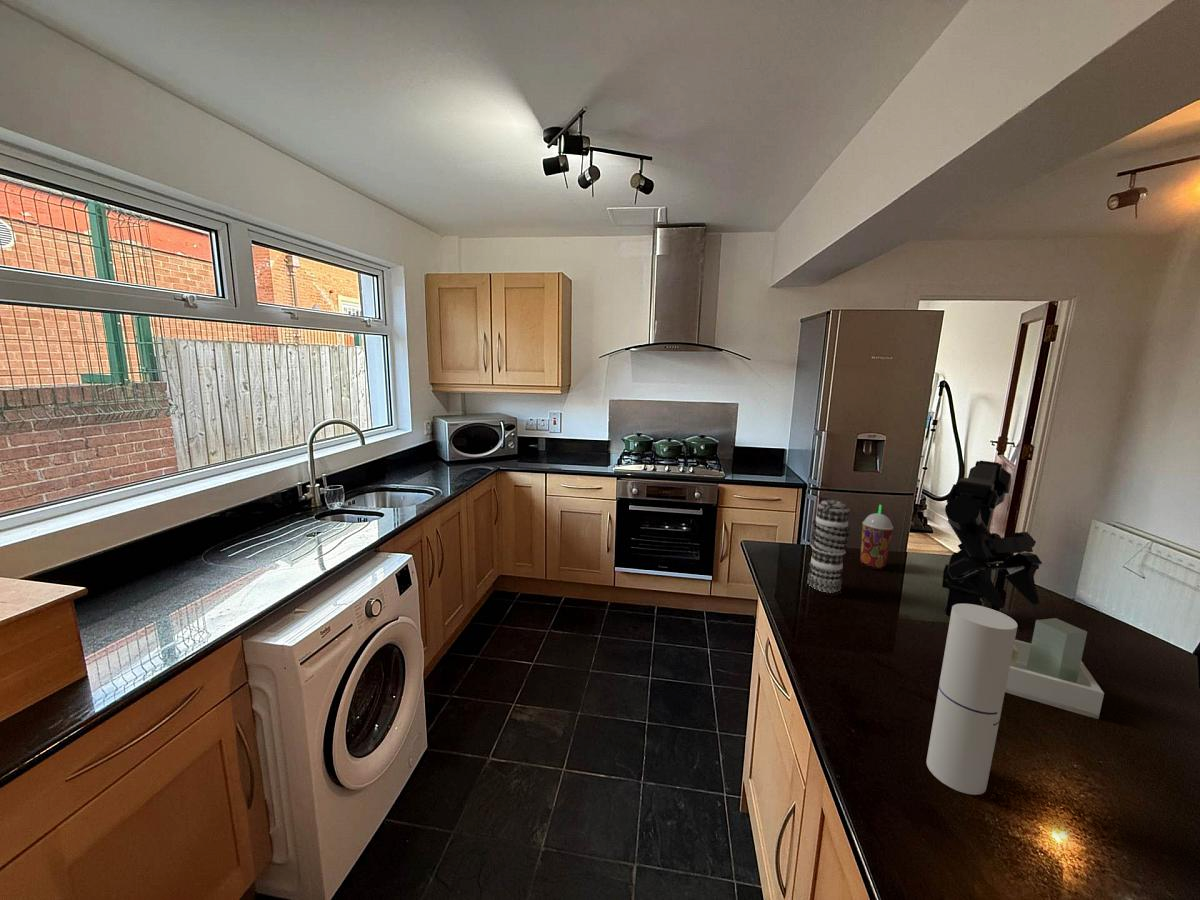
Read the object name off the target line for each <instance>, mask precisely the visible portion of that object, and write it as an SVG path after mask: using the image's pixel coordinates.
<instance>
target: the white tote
mask: <svg viewBox="0 0 1200 900" xmlns="http://www.w3.org/2000/svg"><path fill="white" fill-rule="evenodd" d="M1031 643H1032V642H1027V641H1022V640H1019V639H1015V642H1014V644H1015V646H1016V648H1017V650H1018V655H1017V660H1016V666H1015V667H1013V666H1010V668H1009V673H1008V679H1007V684H1006V689H1005V693H1006V694H1010V695H1014V696H1016V697H1020V698H1024V699H1027V700H1030V701H1033V702H1034V701H1035V702H1037V703H1040V704H1043V705H1044V704H1045V705H1048V706H1052V707H1055V708H1058V709H1061V710H1065V711H1068V712H1072V713H1074V714H1079V715H1081V716H1082V715H1083V716H1086V717H1089V718H1093V719H1097V720H1099V719H1100V713H1101V710H1102V705H1103V701H1104V695H1105V692H1104V691H1103V690H1102V689H1101V687H1100V685H1099V684H1098V683H1097V681H1096V679H1094V676H1093V675H1092V674H1091V672H1090V671H1089V670H1088V668H1087V667H1086V666H1085V664H1084V662H1083V661H1082V660H1081V664H1080V668H1079V673H1078V678H1077V682H1076V683H1073V682H1069V681H1065V680H1062V679H1058V678H1054V677H1050V676H1047V675H1043V674H1039V673H1035V672H1032V671H1028V670H1026V669H1027V663H1028V658H1029V653H1030V648H1031Z"/></svg>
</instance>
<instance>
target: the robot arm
mask: <svg viewBox="0 0 1200 900" xmlns="http://www.w3.org/2000/svg"><path fill="white" fill-rule="evenodd" d="M1011 485H1012V474H1011V473H1010V471H1007V470H1006V469H1005V468H1003V463H1000V462H997V461H987V460H976V462H975V466H973V467H971V468H970V469H969V473H968V475H967V477H962V478H960V479H959V480H957V482H956V483H954V484H952V487H951V489H950V491H949V493H948V495H947V498H946V503H947V504H946V505H945V508H944V512H945V515H946V517H947V523H948V524H949V525H950V527H951V529H952V530H953V532H954V533H955V535H956V536H957V538H958V540H959V541H960V543H959V544H958V545H957V547H958V549H959V551H958V552H955V551H954V552H953V553H952V554H951V556H950V559H949V562H948V564H947V563H946V564H945V566H944V568H943V569H944V570H943V575H942V586H941V587H942V588H943V589H947V591H946V596H945V602H944V603H943V609H944V614H945V615H947V616H950V617H951V611H952V606H953V605H955V604H973V605H979V606H983V601H982V600H984V599H985V600H987V601H988V602H990V604H991V605H994V607H996V608H998V610H999V609H1003V608H1005V604H1004V602H1003V600H1002V598H1001V595H1000V594H999V592H998V591H997V588H996V586H995V584H994V583H993V581H992V572H993V571H997V570H998V571H999V570H1001V572H1002V573H1004V574H1005V575H1006V576H1004V578H1005V579H1006V580H1007V581H1008V582H1009V583H1010V584H1011V585H1012V586H1013V587H1014V588H1015V589H1016V590H1017V591H1018V592H1019V593H1020V594H1021V595H1022V596H1023V597H1024V598H1025V599H1026V600H1027V601H1028V602H1030V603H1031V604H1032V606H1033V605H1034V606H1036V605H1040V602H1041V601H1040V599H1039V595H1038V592H1037V588H1036V583H1035V574H1036V571H1037V570H1039V569H1040V565H1042V564H1043V562H1042V561H1041V559H1040V558H1039V556H1038V555H1037V554H1034V553H1033V552H1034V550H1033V548H1034V547H1035V546H1036V543H1037V541H1036V540H1035V539H1034V538H1033V537H1032V536H1031V535H1030V533H1028V531H1021V532H1014V533H1013V534H1012V535H1013V536H1011V537H1001V536H1000V534H998V532H992V533H991V531H990V529H989V528H990V523H991V520H992V517H993V512H994V510H995V509H996V507H998V506H999V505H1000V504H1002V503H1003V502H1004V501H1005V498H1006V494H1009V493H1010V489H1011Z"/></svg>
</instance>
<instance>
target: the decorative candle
mask: <svg viewBox="0 0 1200 900" xmlns="http://www.w3.org/2000/svg"><path fill="white" fill-rule="evenodd" d="M816 507H817V512H816V513H817V514H816V516H815V519H814V520H813V521H812V525H813V527H812V530H811V531H812V534H811V538H812V540H811V549H812V555H811V557H810V558H811V559H810V562H809V563H808V564H809V568H808V572H809V573H808V574H807V580H806V582H807V584H809V586H811V587H812V588H814V589H816V590H819V591H821V592H826V593H828V592H829V593H834V592H838V591H840V592H841V589H842V584H843V581H842V578H843V576H844V575H843V572H844V567H843V566H844V563H843V561H844V560H843V559H844V555H845V554H846V552H847V551H846V549H847V548H848V547H847V546H846V545H847V544H848V540H847V539H846V538H848V537H849V536H850V534H849V533H848V532H850V530H851V529H850V527H849V519H848V518H849V513H850V511H851V509H850V508H849V507H848V506H847V504H846V503H844V501H840V500H835V499H823V500H822V501H820V502H819V503H817V504H816Z"/></svg>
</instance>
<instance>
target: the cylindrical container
mask: <svg viewBox="0 0 1200 900" xmlns="http://www.w3.org/2000/svg"><path fill="white" fill-rule="evenodd" d="M948 623H949V624H948V631H947V635H946V642H945V648H944V655H943V659H942V664H941V665H942V666H941V672H940V677H939V684H938V690H937V694H936V701H935V702H936V703H935V708H934V713H933V720H932V726H931V732H930V738H929V744H928V750H927V755H926V766H927V768H928V770H929V772H930V773H931V774H932V775H933V776H934V777H935V778H936V779H937V780H938V781H940V782H941V783H942V784H944V785H945V786H948V787H949V788H951V789H952V790H955V791H957V792H960V793H963V794H967V795H971V796H972V795H973V796H977V795H982V794H984V793H985V792H986V791H987V786H988V782H989V776H990V772H991V767H992V761H993V755H994V751H995V746H996V741H997V737H998V736H997V735H998V731H999V725H1000V720H1001V716H1002V715H1001V714H1002V710H1003V704H1004V698H1005V693H1006V692H1005V689H1006V684H1007V679H1008V673H1009V668H1010V663H1011V658H1012V652H1013V647H1014V642H1015V640H1016V636H1017V632H1018V623H1017V622H1016V620H1014V619H1013V618H1012V617H1010V616H1009V615H1007V614H1005V613H1002V612H1001V611H998V610H995V609H992V608H989V607H987V606H983V605H982V606H979V605H973V604H955V605H953V606H952V611H951V616H950V618H949V622H948Z"/></svg>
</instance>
